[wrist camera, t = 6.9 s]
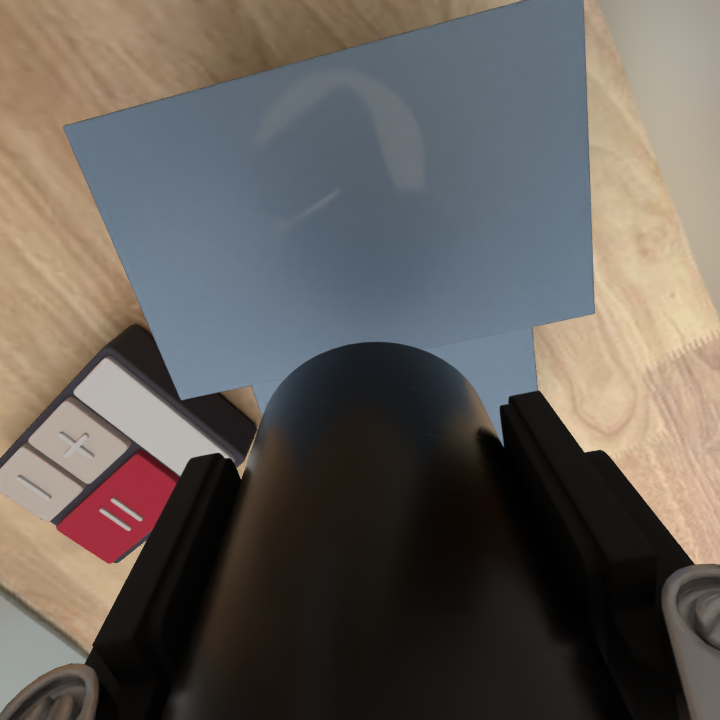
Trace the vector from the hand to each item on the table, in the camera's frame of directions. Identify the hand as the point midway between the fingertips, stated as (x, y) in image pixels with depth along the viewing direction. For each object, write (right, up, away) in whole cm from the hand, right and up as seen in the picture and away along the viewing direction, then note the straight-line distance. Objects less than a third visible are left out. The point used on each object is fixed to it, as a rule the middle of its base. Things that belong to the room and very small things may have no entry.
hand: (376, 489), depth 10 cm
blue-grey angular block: (+1, +7, +21) cm, 22 cm away
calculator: (-17, -3, +26) cm, 31 cm away
